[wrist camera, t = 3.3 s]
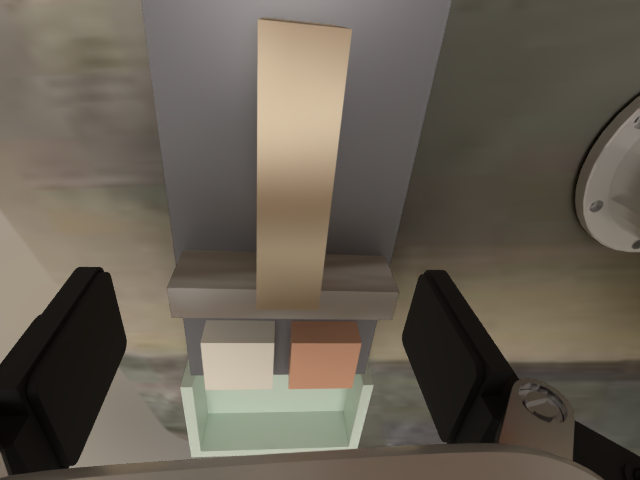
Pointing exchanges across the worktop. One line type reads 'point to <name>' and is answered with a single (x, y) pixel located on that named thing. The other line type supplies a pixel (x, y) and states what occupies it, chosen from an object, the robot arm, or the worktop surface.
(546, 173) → the worktop surface
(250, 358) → the tile cream
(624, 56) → the worktop surface
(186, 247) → the grey platform with tray
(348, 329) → the tile terracotta
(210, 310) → the scraper
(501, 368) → the robot arm
